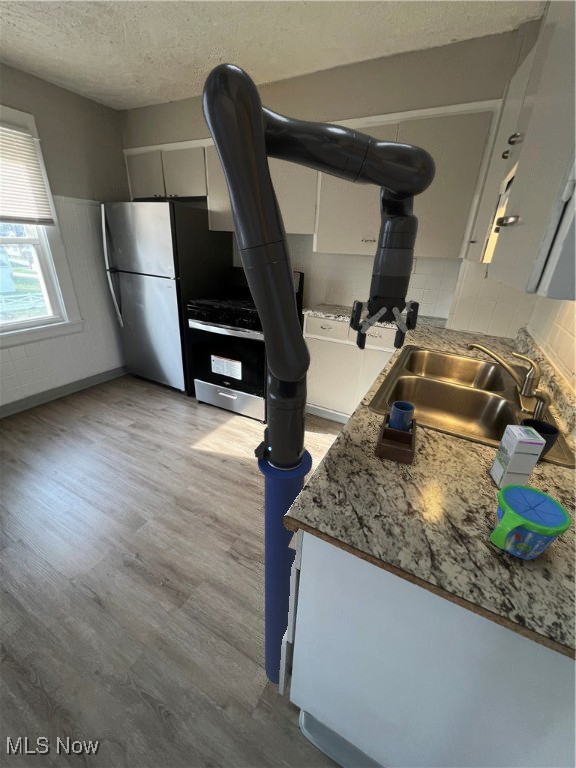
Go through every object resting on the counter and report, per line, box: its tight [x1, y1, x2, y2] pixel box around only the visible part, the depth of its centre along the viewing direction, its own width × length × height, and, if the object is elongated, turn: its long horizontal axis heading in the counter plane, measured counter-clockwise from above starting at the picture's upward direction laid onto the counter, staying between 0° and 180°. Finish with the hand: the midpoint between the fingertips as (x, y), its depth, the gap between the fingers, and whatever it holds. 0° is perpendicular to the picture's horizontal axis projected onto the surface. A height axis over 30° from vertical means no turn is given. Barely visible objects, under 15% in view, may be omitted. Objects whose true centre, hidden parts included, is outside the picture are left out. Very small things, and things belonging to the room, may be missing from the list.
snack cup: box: [489, 484, 572, 561], centre depth 58 cm, size 16×10×10 cm
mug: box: [503, 417, 561, 463], centre depth 84 cm, size 8×12×10 cm
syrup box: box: [489, 424, 546, 490], centre depth 73 cm, size 6×6×14 cm
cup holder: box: [375, 412, 417, 466], centre depth 88 cm, size 9×17×4 cm, turn 158°
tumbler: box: [388, 400, 416, 432], centre depth 90 cm, size 6×6×9 cm
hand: (379, 348), depth 70 cm, fingers open, 8 cm apart
